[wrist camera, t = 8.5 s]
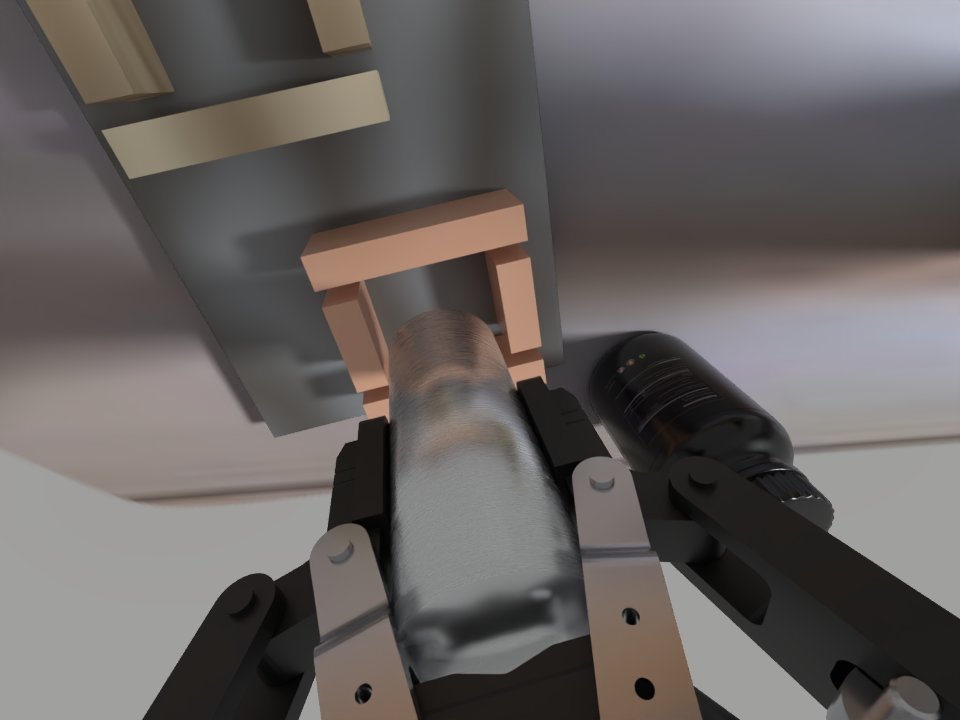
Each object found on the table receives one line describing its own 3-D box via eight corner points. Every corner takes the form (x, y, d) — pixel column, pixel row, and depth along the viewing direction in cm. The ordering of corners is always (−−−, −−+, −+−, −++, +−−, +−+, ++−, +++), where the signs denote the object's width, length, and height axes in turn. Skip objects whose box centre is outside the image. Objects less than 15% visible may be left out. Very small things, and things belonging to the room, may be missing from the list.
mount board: (485, -296, 13) (523, -444, 10) (555, 349, 26) (584, 395, 22) (-66, -194, 13) (-260, -312, 9) (280, 419, 25) (261, 479, 21)
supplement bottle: (706, 377, 29) (876, 533, 19) (617, 436, 30) (730, 611, 20) (662, 305, 26) (841, 449, 15) (564, 376, 27) (670, 550, 17)
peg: (487, 296, 16) (606, 545, 7) (504, 387, 18) (611, 660, 9) (374, 323, 15) (359, 614, 7) (405, 412, 17) (423, 716, 9)
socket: (505, 188, 19) (523, 204, 17) (529, 351, 24) (546, 383, 21) (311, 233, 19) (300, 257, 16) (374, 391, 23) (372, 428, 21)
